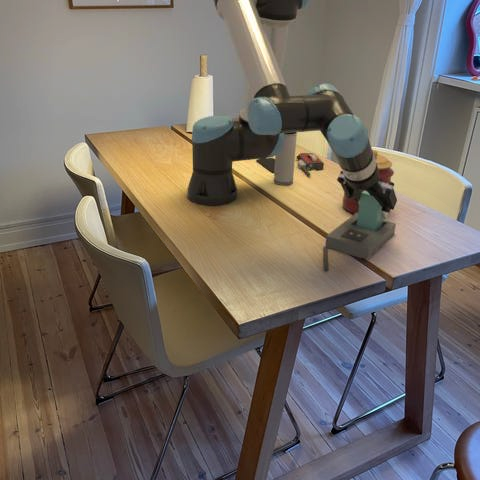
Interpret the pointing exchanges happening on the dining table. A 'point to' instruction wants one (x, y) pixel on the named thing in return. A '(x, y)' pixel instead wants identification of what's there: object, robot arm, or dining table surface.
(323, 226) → the dining table surface
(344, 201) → the canister
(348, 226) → the grey flat block
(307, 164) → the walkie-talkie
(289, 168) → the travel mug
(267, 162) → the phone
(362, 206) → the charger block
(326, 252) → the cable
